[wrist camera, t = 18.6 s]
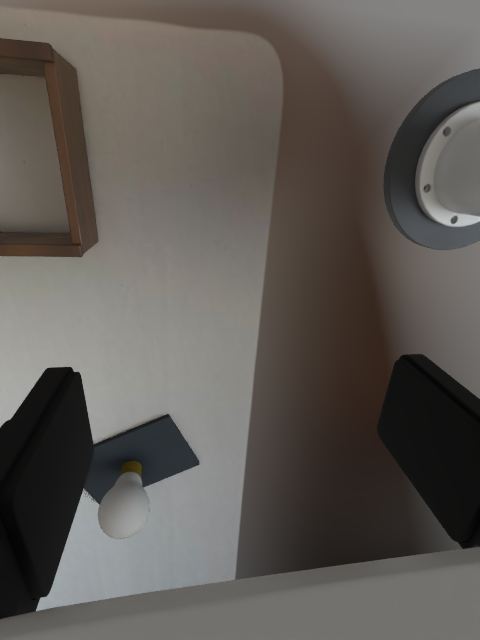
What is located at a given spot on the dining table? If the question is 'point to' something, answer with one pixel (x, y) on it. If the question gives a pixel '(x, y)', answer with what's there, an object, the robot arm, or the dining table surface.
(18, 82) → the dining table surface
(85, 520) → the dining table surface
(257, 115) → the dining table surface
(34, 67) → the brown wooden square frame
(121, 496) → the light bulb
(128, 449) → the mat
